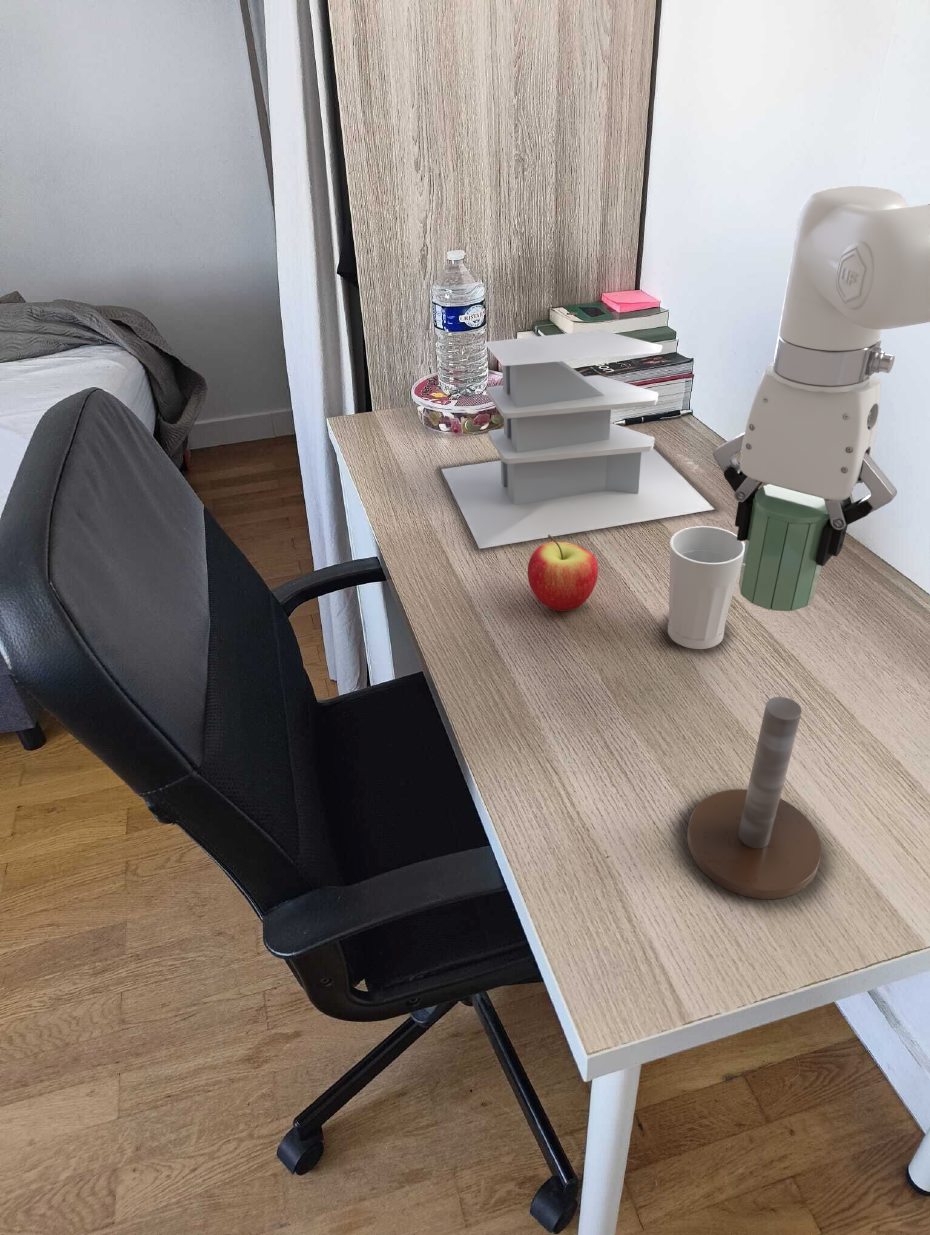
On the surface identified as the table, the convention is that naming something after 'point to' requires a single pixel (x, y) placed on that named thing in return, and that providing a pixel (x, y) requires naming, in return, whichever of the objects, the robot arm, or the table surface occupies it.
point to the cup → (702, 584)
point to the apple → (562, 575)
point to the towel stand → (758, 821)
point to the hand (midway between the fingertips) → (785, 545)
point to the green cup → (782, 549)
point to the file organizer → (566, 448)
